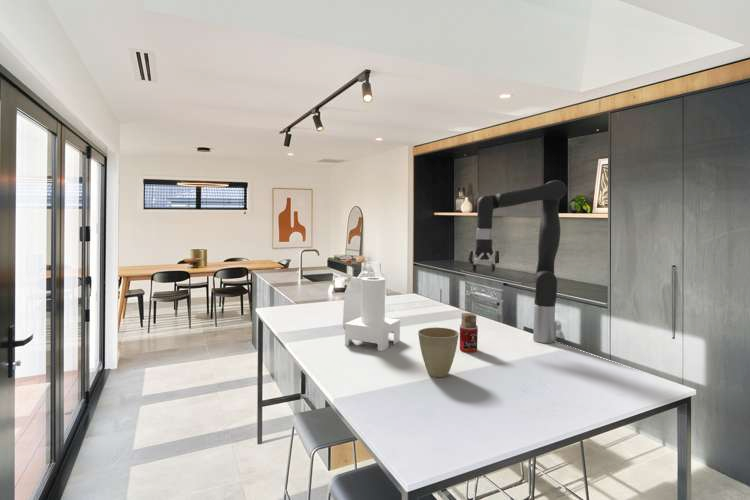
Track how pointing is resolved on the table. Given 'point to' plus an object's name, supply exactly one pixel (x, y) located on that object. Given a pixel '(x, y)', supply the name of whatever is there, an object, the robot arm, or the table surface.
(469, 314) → the walnut cube
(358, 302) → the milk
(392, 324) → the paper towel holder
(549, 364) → the table surface
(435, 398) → the table surface
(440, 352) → the plant pot
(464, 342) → the canned food
